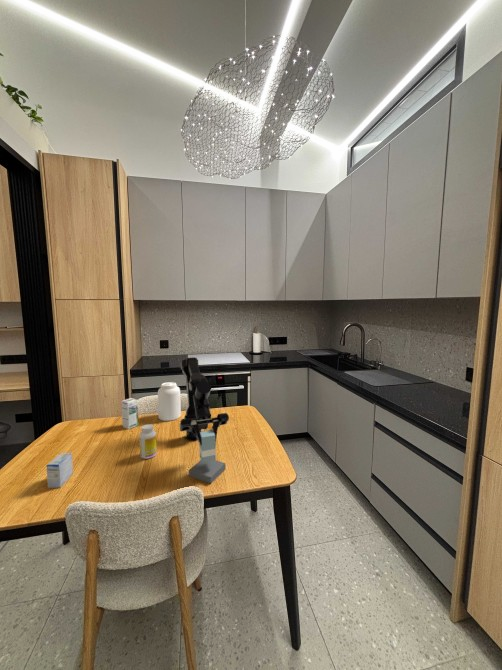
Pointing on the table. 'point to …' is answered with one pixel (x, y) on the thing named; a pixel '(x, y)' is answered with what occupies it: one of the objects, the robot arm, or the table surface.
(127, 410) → the syrup box
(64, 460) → the medicine box
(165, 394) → the white plastic jar
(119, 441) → the table surface
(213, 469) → the podium
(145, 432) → the supplement bottle
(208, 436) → the carton
